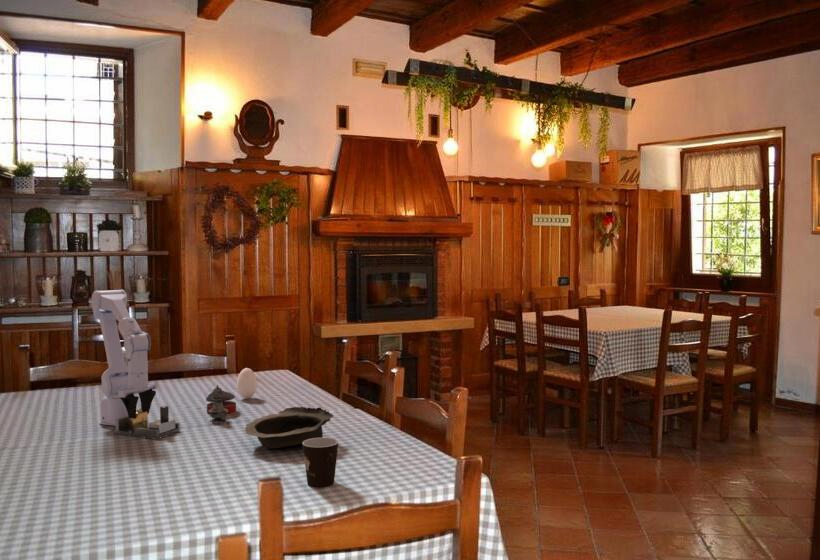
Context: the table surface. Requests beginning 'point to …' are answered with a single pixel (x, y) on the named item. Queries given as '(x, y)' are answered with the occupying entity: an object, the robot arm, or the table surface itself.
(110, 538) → the table surface
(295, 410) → the stone bowl
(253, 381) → the egg
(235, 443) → the table surface
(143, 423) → the gold bell
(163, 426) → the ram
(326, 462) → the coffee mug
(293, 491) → the table surface
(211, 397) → the canned food
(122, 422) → the press frame
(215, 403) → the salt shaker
